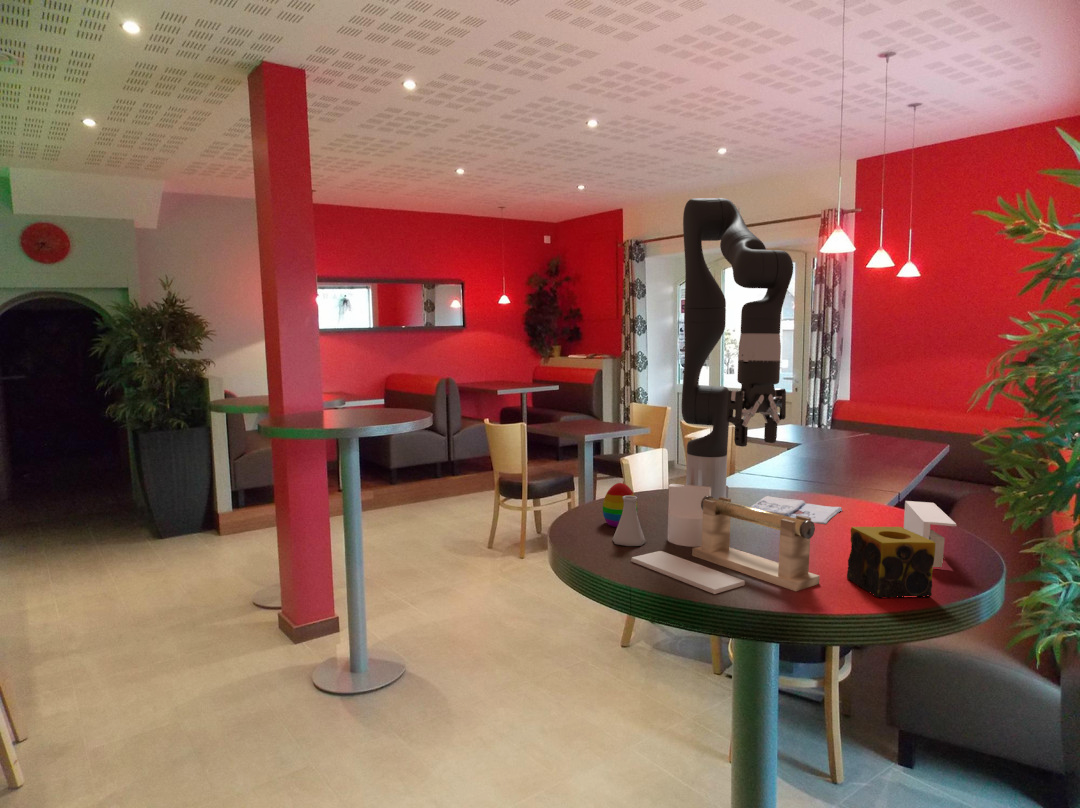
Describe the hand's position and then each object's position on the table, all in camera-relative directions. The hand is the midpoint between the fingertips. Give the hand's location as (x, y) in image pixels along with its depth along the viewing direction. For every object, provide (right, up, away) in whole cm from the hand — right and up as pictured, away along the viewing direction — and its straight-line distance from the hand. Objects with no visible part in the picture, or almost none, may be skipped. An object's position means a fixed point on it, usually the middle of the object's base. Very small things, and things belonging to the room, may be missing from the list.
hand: (755, 444), depth 129 cm
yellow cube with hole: (+21, -26, -7) cm, 34 cm away
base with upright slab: (-8, -23, +21) cm, 32 cm away
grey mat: (-13, -24, 0) cm, 28 cm away
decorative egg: (-22, -21, +33) cm, 45 cm away
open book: (+25, -21, +48) cm, 58 cm away
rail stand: (0, -24, +2) cm, 24 cm away
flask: (-21, -23, +19) cm, 36 cm away
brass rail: (0, -15, +1) cm, 15 cm away
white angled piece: (+39, -24, +12) cm, 47 cm away
